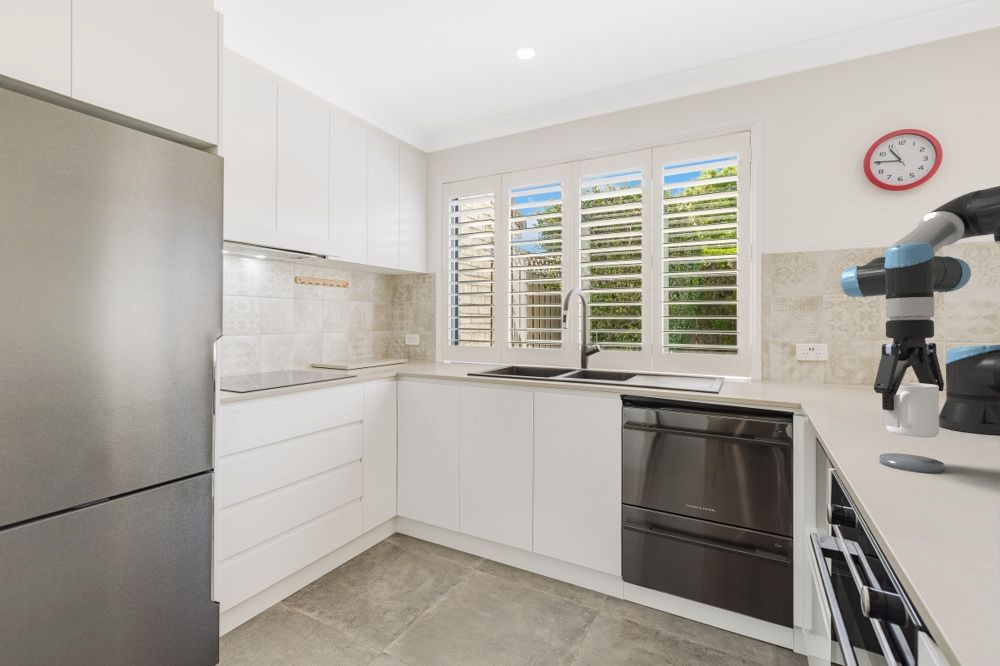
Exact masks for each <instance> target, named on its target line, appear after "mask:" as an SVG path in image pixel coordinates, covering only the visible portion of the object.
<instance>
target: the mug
mask: <svg viewBox="0 0 1000 666" xmlns="http://www.w3.org/2000/svg"><path fill="white" fill-rule="evenodd" d="M896 395H900V427H899V428H897V427H891V426H885V427H886V430H887V431H888V432H889V433H891V434H893V435H899V436H906V437H910V438H911V437H912V438H913V437H914V438H935V437H937V436H939V433H940V426H939V415H940V397H939V396H940V391H939V386H938V385H933V384H923V383H919V382H903V381H901V384H900V386H899V389H898V391H897V393H896Z"/></svg>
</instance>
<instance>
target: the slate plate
mask: <svg viewBox="0 0 1000 666" xmlns="http://www.w3.org/2000/svg"><path fill="white" fill-rule="evenodd" d="M879 464H881V465H883V466H886V467H889V468H893V469H897V470H901V471H906V470H907V471H908V472H913V471H916V472H915V473H922V472H928V473H927V474H936V473H938V472H939V473H943V472H944V471H945V464H944V462H943V461H940V460H938V459H935V458H931V457H926V456H921V455H916V454H910V453H909V454H908V453H898V452H897V453H893V452H892V453H890V452H889V453H887V452H886V453H881V454H879ZM907 471H906V472H907ZM932 472H933V473H932Z"/></svg>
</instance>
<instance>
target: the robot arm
mask: <svg viewBox="0 0 1000 666" xmlns="http://www.w3.org/2000/svg"><path fill="white" fill-rule="evenodd" d="M988 235H989V236H990V235H993V239H994V243H996V244H997V245H1000V185H998V186H993V187H989V188H985V189H978V190H975V191H971V192H968V193H964V194H963V195H960V196H958V197H955V198H953V199H951V200H949V201H948V202H946V203H944V204H942V205H940V206H938V207H937V208H935V209H933V210H932V211H931V212H929V213H928V214H926V215H925V216H924V217H922V219H921V220H920V221H919V222H918V224H917V227H915V228H914V229H912V231H910V232H909V233H907V234H906V235H905V236H903V237H902V238H900V239H899V240H898V241H896V242H894V244H892V245H890V246H889V247H888V248H887V249H885V250H884V251H882V252H881V253H880V254H879V255H877V256H876V257H874V258H873V259H872V260H870V261H869V262H867V263H866V264H864V265H856V266H852V267H848V268H846V269H845V270H843V271H842V273H841V276H840V281H839V282H840V283H839V285H840V287H841V290H842V292H843V294H845V295H846V296H848V297H850V298H857V297H861V298H866V297H874V296H875V297H876V296H885V305H884V308H885V317H886V318H888V319H889V320H887V321H886V322H885V337H886V338H888V339H893V341H892V343H883V344H882V345H881V357H880V361H879V364H878V365H879V366H878V368H877V373H876V377H875V381H874V385H873V390H874V391H875V393H876V394H881V395H882V396H881V397H882V398H881V399H882V400H881V403H882V404H881V405H882V407H881V408H882V409H881V410H882V415H881V416H882V420H881V421H882V424H881V425H882V426H885V427H886V426H891V427H897V428H899V427H900V395H896V393H897V391H898V389H899V386H900V384H901V382H903V380H904V377H905V374H906V372H907V370H908V368H911V367H912V370H913V372H914V374H915V376H916V379H917V380H918V383H923V384H933V385H938V386H939V392H944V387H945V389H946V390H945V391H946V392H945V394H946V397H945V401H944V403H943V406H942V408H941V410H940V411H939V428H940V427H941V428H944V429H948V430H954V431H958V432H959V431H960V432H966V433H974V434H984V435H985V434H986V435H1000V344H989V345H974V346H961V347H953V348H949V350H947V351H946V354H945V355H946V356H945V363H944V365H945V383H944V379H943V374H942V370H941V366H940V362H939V358H938V353H937V344H936V343H935V342H926V339H932V338H934V336H935V321H933V320H932V319H931V318H933V317H935V296H934V293H948V292H955V291H958V290H960V289H962V288H963V287H965V286H966V285H967V284H968V282H969V281H970V279H971V276H972V270H971V268H970V266H969V264H968V263H967V262H966V261H964V260H962V259H960V258H958V257H953V256H949V255H947V256H941V255H940V256H939V255H938V256H937V255H935V254H936V253H937V252H938V251H940V250H941V249H942V248H944V247H947V246H950V245H953V244H955V243H957V242H958V241H960V240H963V239H969V238H974V237H980V236H981V237H982V236H988Z"/></svg>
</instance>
